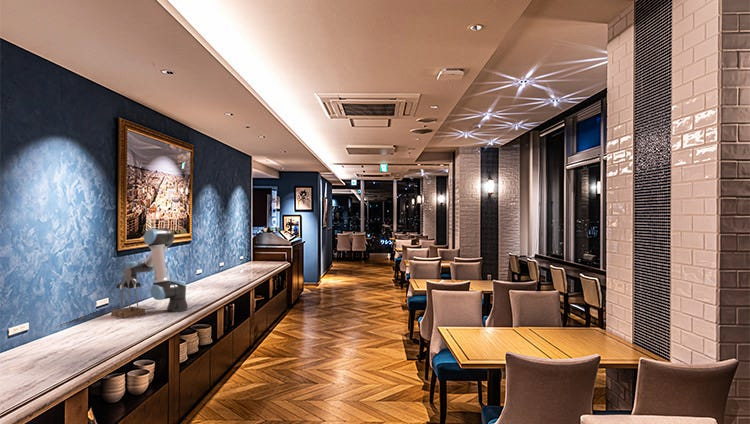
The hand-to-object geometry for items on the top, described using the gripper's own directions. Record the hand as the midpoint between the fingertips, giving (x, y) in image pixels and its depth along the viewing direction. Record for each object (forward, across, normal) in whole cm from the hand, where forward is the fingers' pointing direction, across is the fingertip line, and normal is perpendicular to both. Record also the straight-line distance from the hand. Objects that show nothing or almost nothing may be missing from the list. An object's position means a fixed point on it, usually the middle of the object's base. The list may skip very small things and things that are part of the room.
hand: (127, 287), depth 346 cm
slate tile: (-26, -7, -21) cm, 34 cm away
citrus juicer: (-5, 0, -16) cm, 17 cm away
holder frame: (-5, 0, -21) cm, 22 cm away
